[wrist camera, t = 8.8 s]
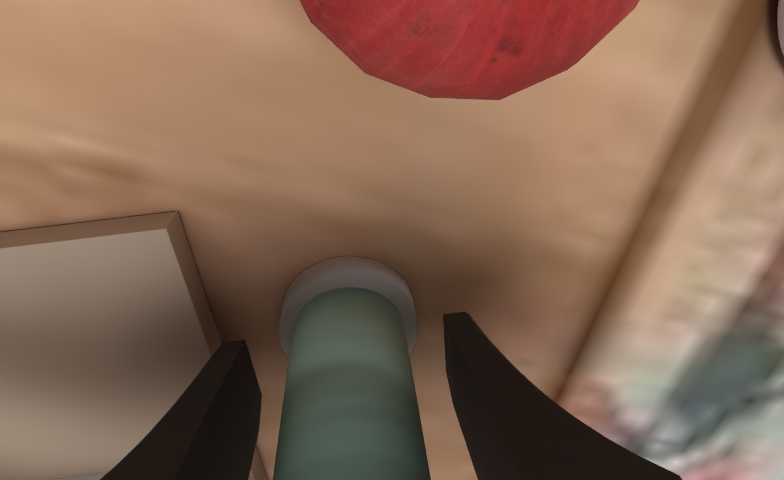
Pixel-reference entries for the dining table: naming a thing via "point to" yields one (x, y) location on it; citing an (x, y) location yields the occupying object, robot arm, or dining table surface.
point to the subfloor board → (96, 342)
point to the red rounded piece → (466, 40)
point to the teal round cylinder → (349, 376)
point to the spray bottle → (781, 24)
